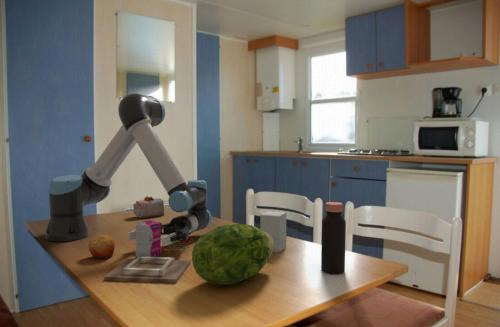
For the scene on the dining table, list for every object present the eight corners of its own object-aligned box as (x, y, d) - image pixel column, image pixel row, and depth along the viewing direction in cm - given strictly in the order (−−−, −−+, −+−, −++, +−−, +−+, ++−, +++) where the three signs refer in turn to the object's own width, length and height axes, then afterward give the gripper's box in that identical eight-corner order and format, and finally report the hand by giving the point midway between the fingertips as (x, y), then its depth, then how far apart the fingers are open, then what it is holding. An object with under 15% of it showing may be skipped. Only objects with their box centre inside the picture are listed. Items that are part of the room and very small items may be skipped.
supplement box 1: (148, 261, 123) (148, 225, 123) (135, 258, 127) (134, 223, 126) (161, 256, 128) (161, 221, 128) (148, 253, 131) (148, 219, 131)
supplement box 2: (286, 247, 140) (287, 212, 139) (279, 253, 133) (279, 216, 132) (267, 244, 143) (267, 210, 142) (259, 250, 136) (259, 214, 135)
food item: (138, 219, 185) (138, 198, 184) (132, 216, 191) (132, 196, 190) (165, 216, 193) (165, 196, 192) (158, 213, 199) (158, 194, 199)
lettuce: (288, 273, 113) (289, 220, 112) (220, 300, 94) (220, 237, 93) (251, 261, 124) (251, 213, 123) (182, 284, 104) (182, 227, 103)
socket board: (104, 280, 107) (104, 271, 107) (127, 261, 123) (127, 253, 123) (176, 283, 105) (176, 273, 105) (190, 263, 121) (190, 255, 121)
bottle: (340, 276, 111) (341, 206, 110) (317, 272, 115) (318, 203, 113) (347, 269, 117) (349, 202, 115) (326, 265, 120) (327, 200, 119)
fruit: (124, 248, 132) (115, 231, 127) (111, 267, 126) (101, 249, 121) (104, 246, 134) (95, 229, 130) (90, 264, 128) (80, 247, 124)
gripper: (212, 239, 140) (178, 255, 120) (155, 232, 150) (115, 246, 131) (212, 218, 139) (178, 231, 120) (155, 212, 149) (115, 223, 130)
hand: (145, 239), depth 125 cm, fingers open, 13 cm apart
